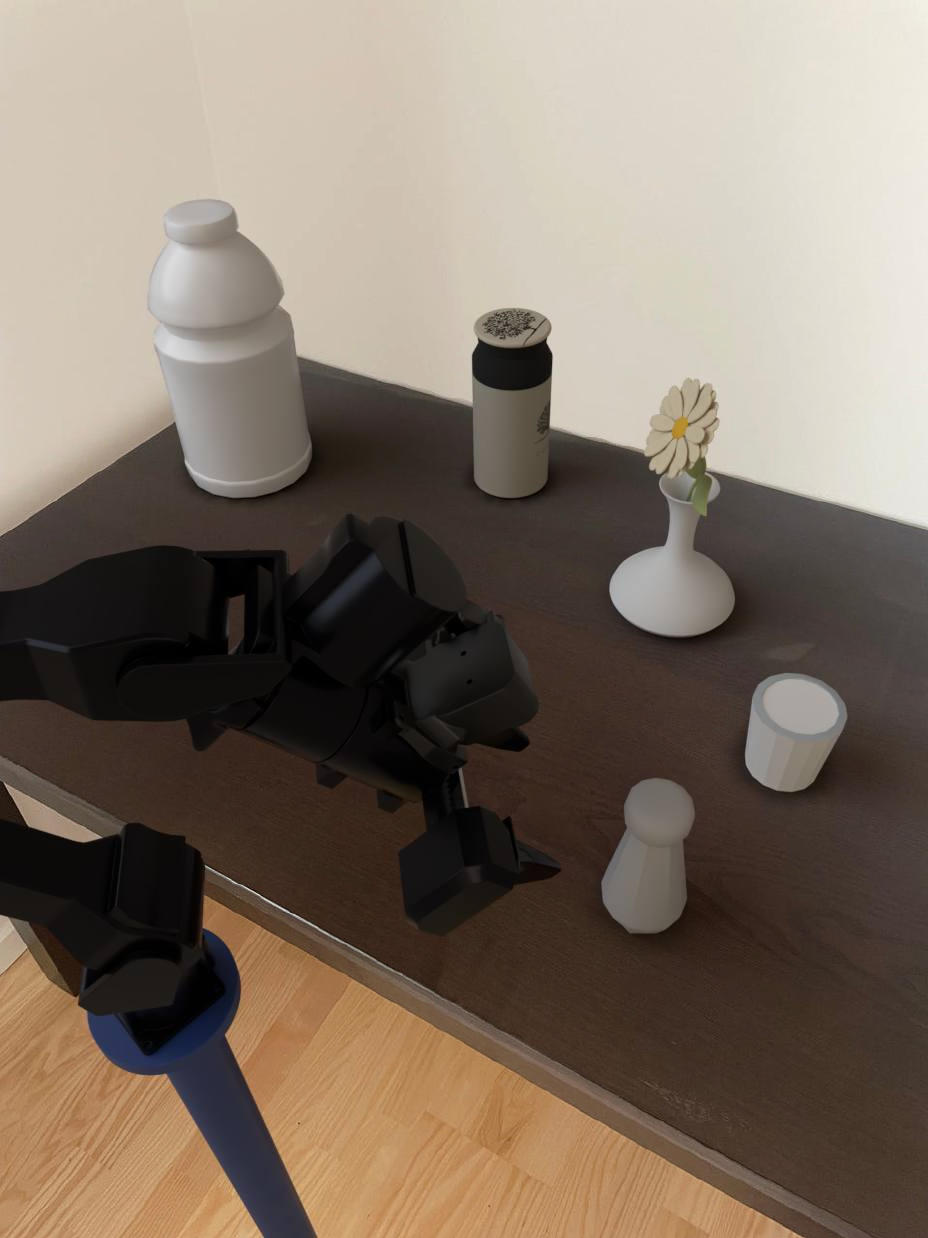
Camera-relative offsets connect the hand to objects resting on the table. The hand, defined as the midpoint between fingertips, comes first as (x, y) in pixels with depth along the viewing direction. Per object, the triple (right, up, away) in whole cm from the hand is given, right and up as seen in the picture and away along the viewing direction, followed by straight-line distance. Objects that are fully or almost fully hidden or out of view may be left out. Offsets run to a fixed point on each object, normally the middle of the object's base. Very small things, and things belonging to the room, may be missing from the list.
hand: (539, 805), depth 58 cm
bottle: (-28, +29, +51) cm, 65 cm away
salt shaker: (+8, -9, +10) cm, 16 cm away
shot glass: (+21, 0, +19) cm, 28 cm away
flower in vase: (+14, +12, +32) cm, 37 cm away
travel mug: (+1, +26, +47) cm, 54 cm away
